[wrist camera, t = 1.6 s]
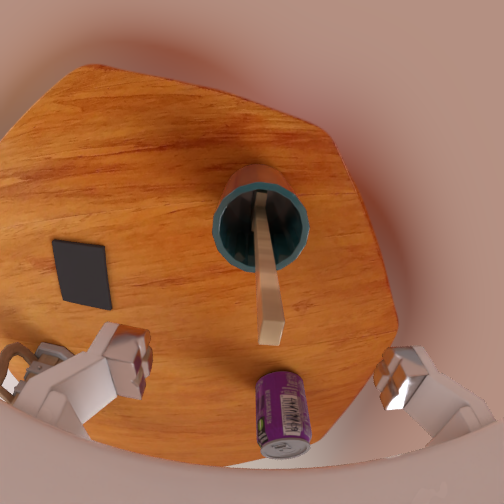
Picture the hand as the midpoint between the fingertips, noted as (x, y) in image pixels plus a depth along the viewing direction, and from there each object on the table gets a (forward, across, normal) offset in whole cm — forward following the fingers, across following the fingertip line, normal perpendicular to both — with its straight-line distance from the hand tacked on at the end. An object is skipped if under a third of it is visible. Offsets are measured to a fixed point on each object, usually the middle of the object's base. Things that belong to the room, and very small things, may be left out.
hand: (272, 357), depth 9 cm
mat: (+22, +21, +12) cm, 33 cm away
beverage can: (+22, -7, +27) cm, 35 cm away
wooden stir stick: (+21, 0, 0) cm, 21 cm away
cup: (+22, 0, 0) cm, 22 cm away
